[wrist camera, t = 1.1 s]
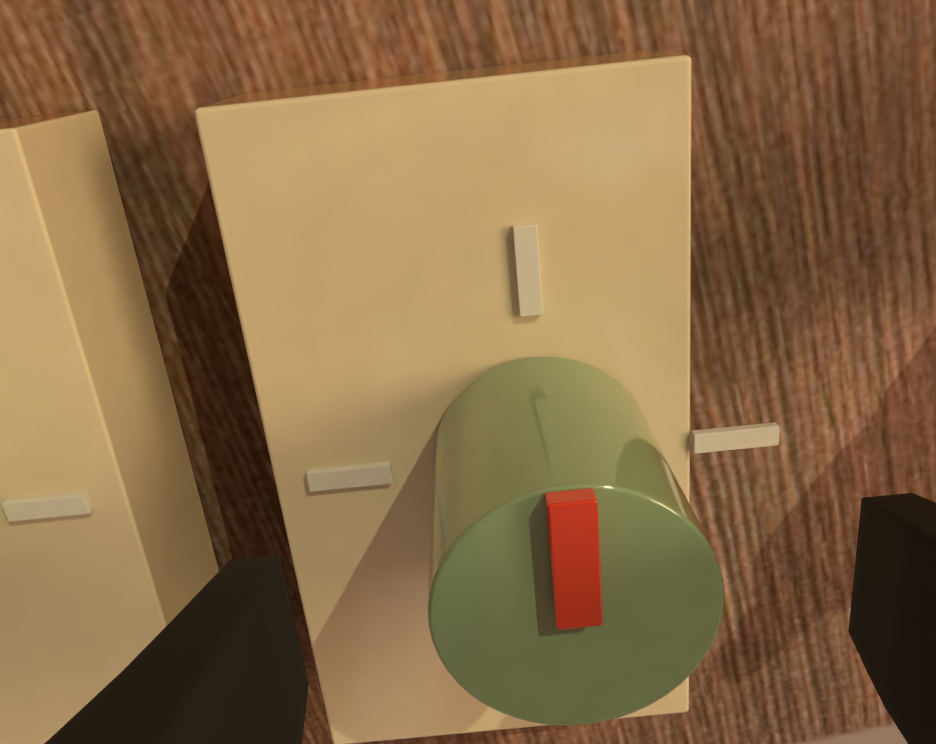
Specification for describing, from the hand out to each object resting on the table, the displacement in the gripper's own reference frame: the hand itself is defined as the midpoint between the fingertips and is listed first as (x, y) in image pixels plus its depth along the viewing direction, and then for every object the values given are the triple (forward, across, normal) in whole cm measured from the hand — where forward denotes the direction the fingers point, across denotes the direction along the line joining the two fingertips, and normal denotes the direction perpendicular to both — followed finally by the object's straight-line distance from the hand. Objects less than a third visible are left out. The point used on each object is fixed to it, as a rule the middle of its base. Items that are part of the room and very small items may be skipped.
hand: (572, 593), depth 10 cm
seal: (+4, 0, 0) cm, 4 cm away
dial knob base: (+7, +1, 0) cm, 7 cm away
